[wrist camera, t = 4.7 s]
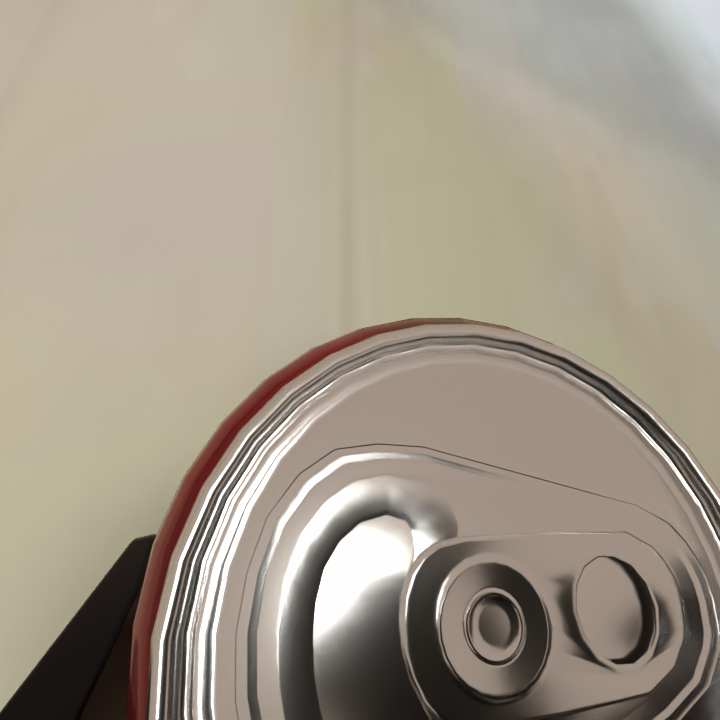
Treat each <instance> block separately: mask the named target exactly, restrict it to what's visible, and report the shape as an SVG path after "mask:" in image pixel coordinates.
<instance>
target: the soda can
mask: <svg viewBox="0 0 720 720" xmlns="http://www.w3.org/2000/svg"><path fill="white" fill-rule="evenodd" d="M126 719H127V720H720V491H719V490H718V488H717V487H716V485H715V484H714V483H713V481H712V480H711V478H710V477H709V476H708V474H707V473H706V471H705V470H704V468H703V467H702V466H701V464H700V463H699V461H698V460H697V458H696V457H695V456H694V454H693V453H692V451H691V450H690V448H689V447H688V446H687V445H686V444H685V443H684V442H683V441H682V440H681V439H680V438H679V437H678V436H677V434H676V433H675V432H674V431H673V430H672V429H671V428H670V427H669V426H668V425H667V424H666V423H665V422H664V421H663V419H662V418H661V417H660V416H659V415H658V414H657V413H656V412H655V411H654V410H653V409H652V408H651V407H650V406H649V405H647V404H646V403H645V402H644V401H642V400H641V399H640V398H639V397H637V396H636V395H635V394H634V393H632V392H631V391H630V390H629V389H627V388H626V387H625V386H624V385H622V384H621V383H620V382H619V381H618V380H616V379H615V378H614V377H613V376H611V375H609V374H608V373H606V372H604V371H603V370H601V369H599V368H597V367H596V366H594V365H592V364H590V363H589V362H587V361H585V360H583V359H582V358H580V357H578V356H576V355H575V354H573V353H571V352H569V351H568V350H566V349H564V348H561V347H558V346H556V345H554V344H552V343H550V342H547V341H544V340H542V339H539V338H536V337H533V336H531V335H528V334H525V333H523V332H520V331H517V330H515V329H512V328H509V327H507V326H501V325H495V324H490V323H484V322H479V321H473V320H468V319H462V318H411V319H406V320H401V321H396V322H391V323H386V324H381V325H376V326H371V327H366V328H362V329H358V330H355V331H353V332H351V333H348V334H346V335H343V336H341V337H339V338H336V339H334V340H331V341H329V342H326V343H324V344H322V345H319V346H317V347H314V348H312V349H310V350H309V351H307V352H306V353H304V354H303V355H301V356H300V357H298V358H297V359H295V360H294V361H292V362H291V363H289V364H288V365H286V366H285V367H283V368H282V369H280V370H279V371H277V372H276V373H274V374H273V375H271V376H270V377H268V378H267V379H265V380H264V381H263V382H262V383H261V384H260V385H259V386H258V387H257V388H256V389H255V390H254V391H253V392H252V393H251V394H250V395H249V396H248V397H247V398H246V399H245V400H244V401H243V402H242V403H241V404H240V405H239V406H238V407H237V408H236V409H234V410H233V411H232V412H231V413H230V414H229V415H228V416H227V417H226V418H225V419H224V420H223V421H222V423H221V424H220V425H219V427H218V428H217V430H216V431H215V433H214V434H213V435H212V437H211V438H210V440H209V441H208V443H207V444H206V445H205V447H204V448H203V450H202V451H201V453H200V454H199V455H198V457H197V458H196V460H195V461H194V463H193V464H192V465H191V467H190V468H189V470H188V471H187V473H186V474H185V475H184V477H183V479H182V481H181V484H180V486H179V488H178V490H177V492H176V494H175V497H174V499H173V501H172V503H171V505H170V507H169V510H168V512H167V514H166V516H165V518H164V520H163V523H162V525H161V527H160V529H159V531H158V534H157V536H156V538H155V540H154V542H153V545H152V549H151V553H150V557H149V561H148V564H147V568H146V572H145V576H144V580H143V584H142V587H141V591H140V595H139V599H138V603H137V606H136V610H135V614H134V618H133V622H132V635H131V647H130V660H129V672H128V684H127V697H126Z"/></svg>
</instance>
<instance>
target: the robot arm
mask: <svg viewBox="0 0 720 720" xmlns="http://www.w3.org/2000/svg"><path fill="white" fill-rule="evenodd" d="M156 536H157V535H155V534H152V535H148V536H143V537H139V538H136V539H134V540H133V541H132V542H131V543H130V544H129V546H128V547H127V548H126V549H125V551H124V552H123V553H122V555H121V556H120V557H119V558H118V560H117V561H116V562H115V564H114V565H113V566H112V568H111V569H110V570H109V571H108V573H107V574H106V575H105V577H104V578H103V579H102V581H101V582H100V583H99V584H98V586H97V587H96V588H95V590H94V591H93V592H92V594H91V595H90V596H89V597H88V599H87V600H86V601H85V603H84V604H83V605H82V607H81V608H80V609H79V610H78V612H77V613H76V614H75V616H74V617H73V618H72V620H71V621H70V622H69V623H68V625H67V626H66V627H65V629H64V630H63V631H62V633H61V634H60V635H59V636H58V638H57V639H56V640H55V642H54V643H53V644H52V646H51V647H50V648H49V649H48V651H47V652H46V653H45V655H44V656H43V657H42V659H41V660H40V661H39V662H38V664H37V665H36V666H35V668H34V669H33V670H32V672H31V673H30V674H29V675H28V677H27V678H26V679H25V681H24V682H23V683H22V685H21V686H20V687H19V688H18V690H17V691H16V692H15V694H14V695H13V696H12V698H11V699H10V700H9V701H8V703H7V704H6V705H5V707H4V708H3V709H2V711H1V712H0V720H127V719H126V697H127V684H128V672H129V660H130V647H131V635H132V622H133V618H134V614H135V610H136V606H137V603H138V599H139V595H140V591H141V587H142V584H143V580H144V576H145V572H146V568H147V564H148V561H149V557H150V553H151V549H152V545H153V542H154V540H155V538H156Z"/></svg>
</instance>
